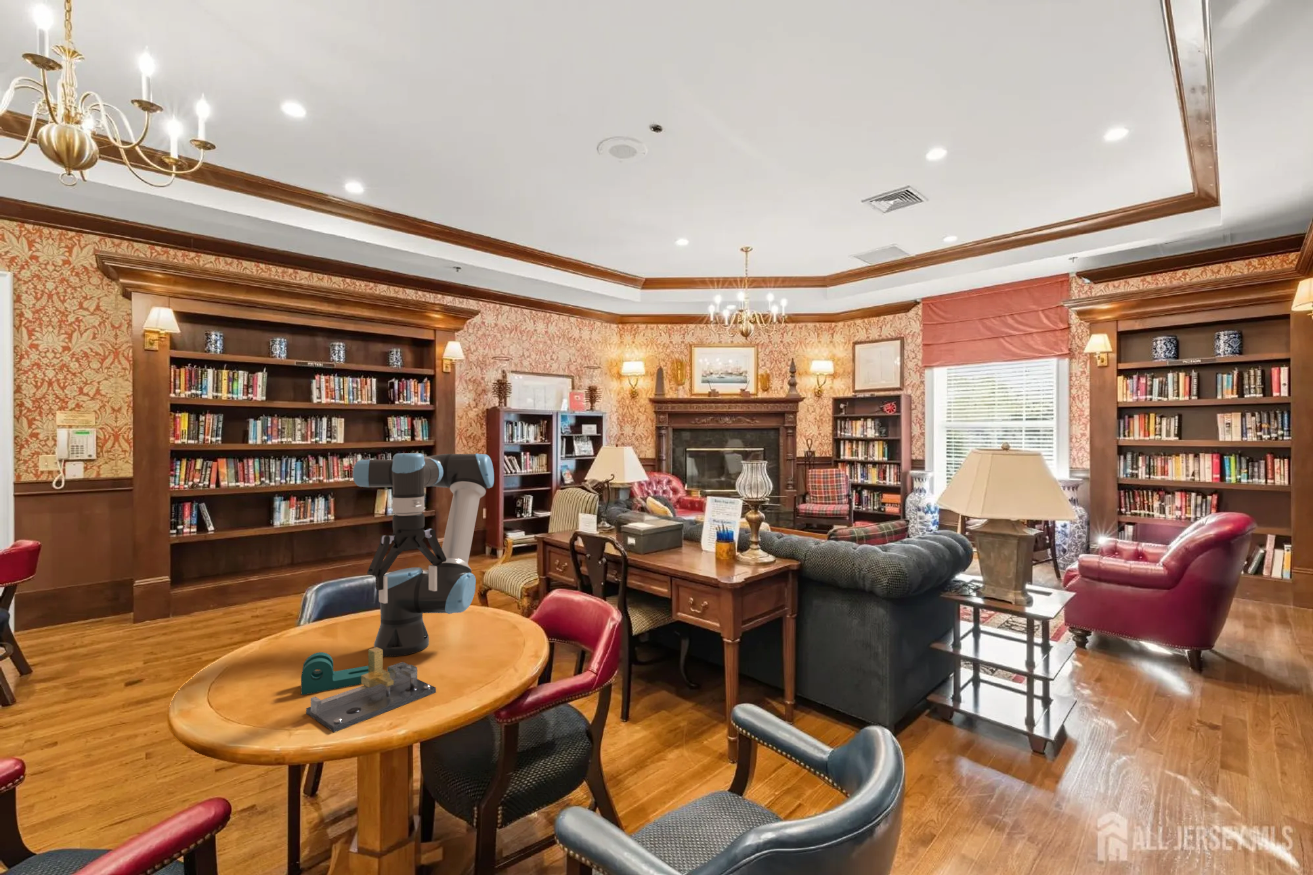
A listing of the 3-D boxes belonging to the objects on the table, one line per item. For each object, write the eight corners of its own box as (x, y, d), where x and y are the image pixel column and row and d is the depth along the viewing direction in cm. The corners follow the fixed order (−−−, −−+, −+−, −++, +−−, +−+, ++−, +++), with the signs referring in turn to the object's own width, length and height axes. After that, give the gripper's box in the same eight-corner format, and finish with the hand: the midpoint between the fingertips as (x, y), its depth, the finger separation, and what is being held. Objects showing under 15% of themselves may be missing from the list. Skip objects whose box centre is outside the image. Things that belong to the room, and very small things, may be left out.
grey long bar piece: (309, 710, 129) (309, 692, 129) (409, 675, 148) (409, 659, 148) (327, 722, 124) (327, 703, 124) (429, 684, 143) (429, 667, 143)
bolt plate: (306, 713, 131) (306, 705, 131) (405, 678, 150) (405, 671, 150) (333, 732, 122) (333, 723, 122) (435, 692, 141) (435, 685, 141)
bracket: (301, 695, 140) (301, 664, 140) (303, 685, 146) (302, 654, 146) (382, 680, 149) (382, 650, 149) (380, 671, 154) (380, 642, 154)
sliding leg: (361, 690, 139) (361, 650, 139) (381, 683, 143) (381, 644, 143) (379, 701, 133) (379, 659, 133) (400, 693, 137) (400, 652, 137)
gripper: (367, 520, 134) (368, 610, 134) (459, 509, 154) (459, 587, 154) (351, 517, 138) (352, 605, 138) (443, 507, 158) (443, 583, 158)
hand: (408, 596), depth 146 cm, fingers open, 13 cm apart
